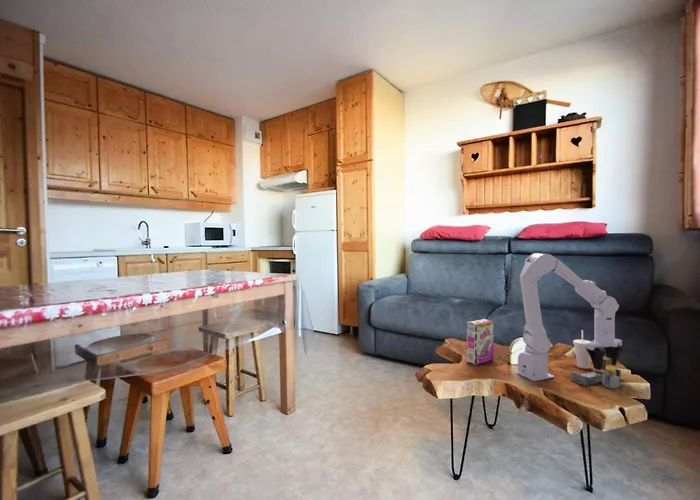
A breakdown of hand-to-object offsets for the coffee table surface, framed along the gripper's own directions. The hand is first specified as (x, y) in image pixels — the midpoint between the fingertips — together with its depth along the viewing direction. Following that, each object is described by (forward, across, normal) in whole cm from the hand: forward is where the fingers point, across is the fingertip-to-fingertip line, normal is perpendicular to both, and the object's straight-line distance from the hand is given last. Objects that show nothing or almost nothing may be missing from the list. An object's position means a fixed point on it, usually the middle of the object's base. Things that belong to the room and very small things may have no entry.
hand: (604, 367), depth 119 cm
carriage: (+4, 0, 0) cm, 4 cm away
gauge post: (+4, -5, -6) cm, 8 cm away
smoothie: (+4, +3, +10) cm, 11 cm away
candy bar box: (+4, -29, +29) cm, 41 cm away
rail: (+4, -4, 0) cm, 5 cm away
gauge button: (+2, -5, -6) cm, 8 cm away
